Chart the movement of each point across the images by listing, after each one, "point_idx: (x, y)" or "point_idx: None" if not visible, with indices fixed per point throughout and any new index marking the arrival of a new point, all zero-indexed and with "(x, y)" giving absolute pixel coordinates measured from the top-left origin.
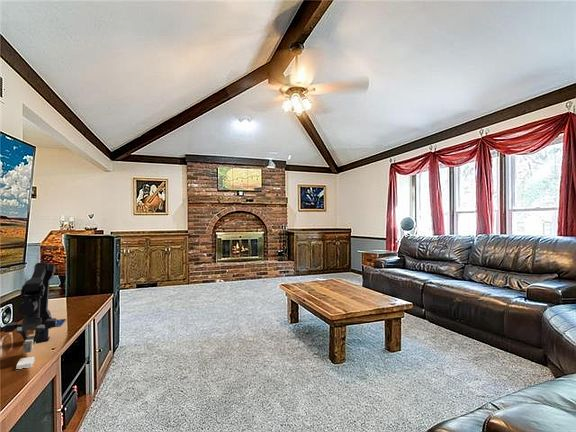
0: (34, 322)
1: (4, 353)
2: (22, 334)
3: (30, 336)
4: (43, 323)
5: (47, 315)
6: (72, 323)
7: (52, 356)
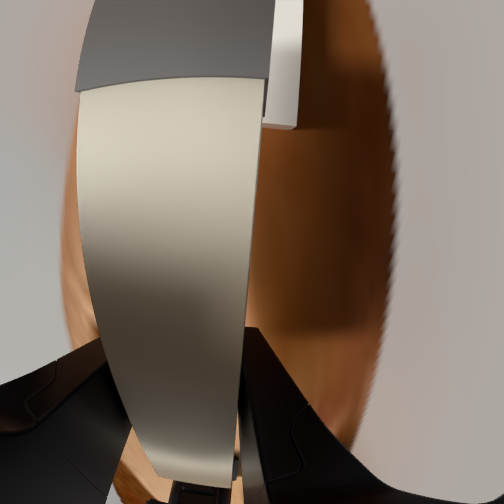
0: None
1: (369, 395)
2: (346, 481)
3: (192, 440)
4: None
5: None
6: (148, 500)
7: (69, 173)
